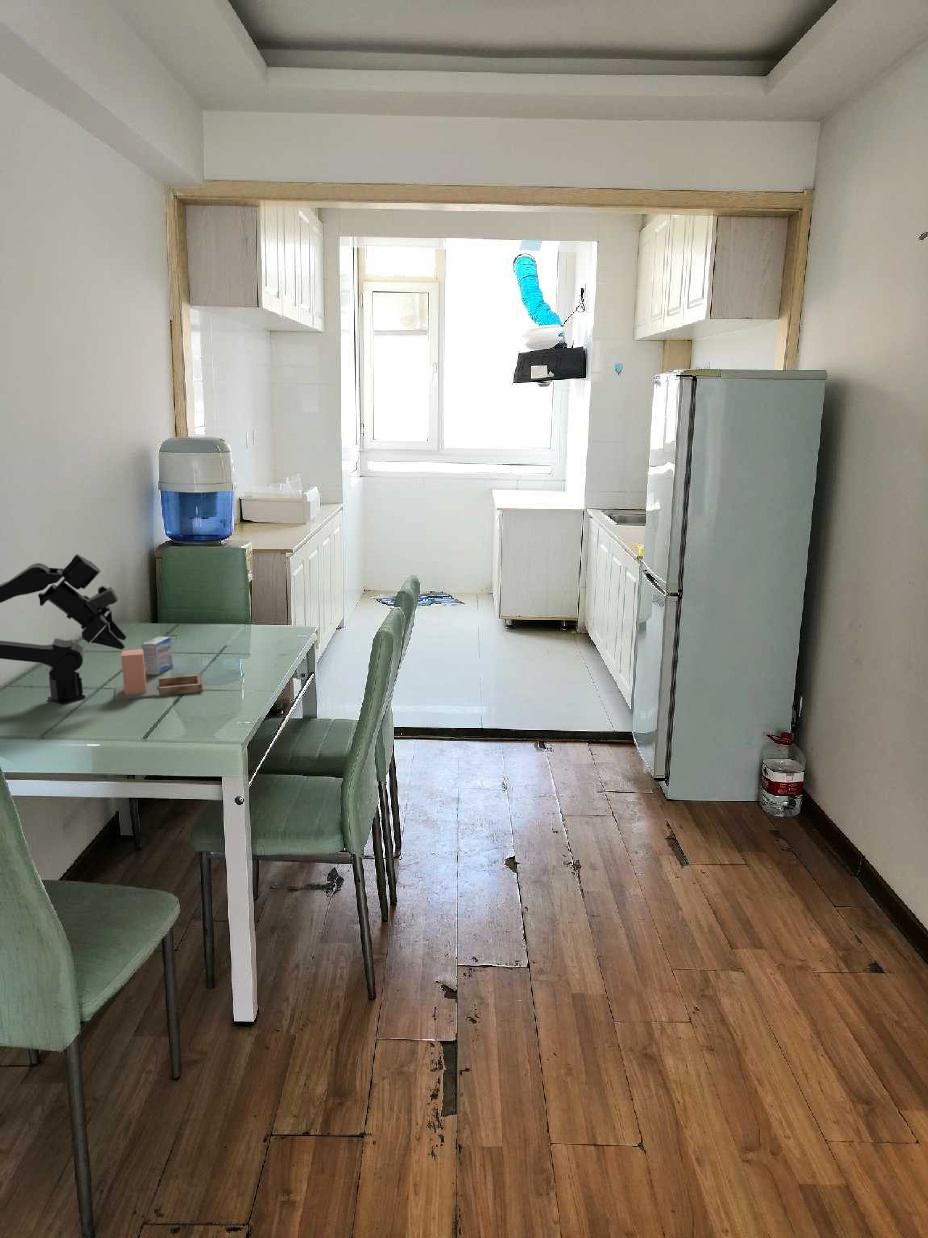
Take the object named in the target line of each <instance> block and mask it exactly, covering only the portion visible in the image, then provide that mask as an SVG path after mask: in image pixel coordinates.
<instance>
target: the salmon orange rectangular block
mask: <svg viewBox="0 0 928 1238" xmlns="http://www.w3.org/2000/svg"><path fill="white" fill-rule="evenodd" d="M120 657H121V669H122V679H123V686H124V690H125V695H127V694H138V693H146V684H147V677H146V675H147V674H145V664H144V653H143V649H142V648H141V649H139V648H138V649H129V650H127V649H126V650H125V649H124V650H122V651H121V655H120Z"/></svg>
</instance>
